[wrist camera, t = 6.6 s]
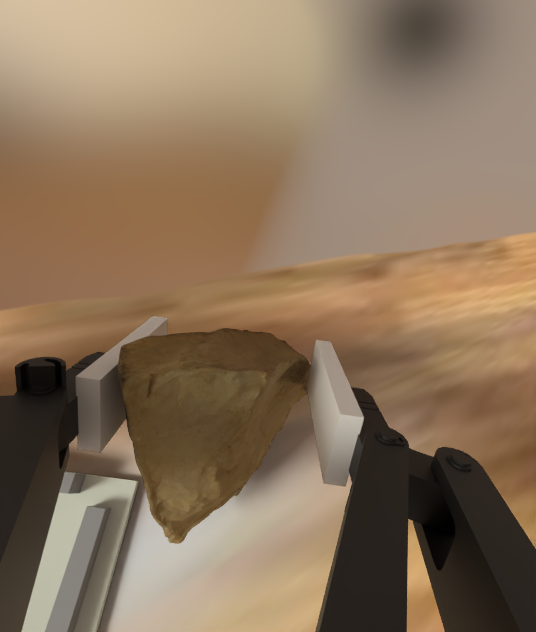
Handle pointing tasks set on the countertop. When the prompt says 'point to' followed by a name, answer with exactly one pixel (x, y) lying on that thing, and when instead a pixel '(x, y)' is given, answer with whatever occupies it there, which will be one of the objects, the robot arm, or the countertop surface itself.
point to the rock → (205, 415)
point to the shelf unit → (80, 553)
